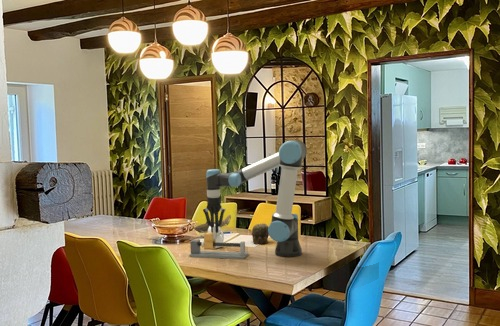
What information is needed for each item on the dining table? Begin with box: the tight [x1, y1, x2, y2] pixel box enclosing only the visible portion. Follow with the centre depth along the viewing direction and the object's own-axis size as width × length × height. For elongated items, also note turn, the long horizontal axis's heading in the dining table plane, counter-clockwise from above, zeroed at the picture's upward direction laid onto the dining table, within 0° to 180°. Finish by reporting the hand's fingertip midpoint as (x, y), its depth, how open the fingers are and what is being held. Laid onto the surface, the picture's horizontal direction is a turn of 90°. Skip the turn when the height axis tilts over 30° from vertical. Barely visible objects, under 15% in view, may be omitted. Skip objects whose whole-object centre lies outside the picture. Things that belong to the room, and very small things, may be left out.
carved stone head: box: [251, 223, 270, 245], centre depth 313 cm, size 11×11×12 cm
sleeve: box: [203, 232, 217, 251], centre depth 285 cm, size 5×5×9 cm
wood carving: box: [193, 214, 232, 234], centre depth 343 cm, size 9×35×11 cm, turn 139°
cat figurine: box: [208, 224, 225, 250], centre depth 305 cm, size 9×12×15 cm
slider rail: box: [188, 238, 249, 260], centre depth 284 cm, size 32×10×8 cm, turn 75°
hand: (215, 238), depth 284 cm, fingers closed
